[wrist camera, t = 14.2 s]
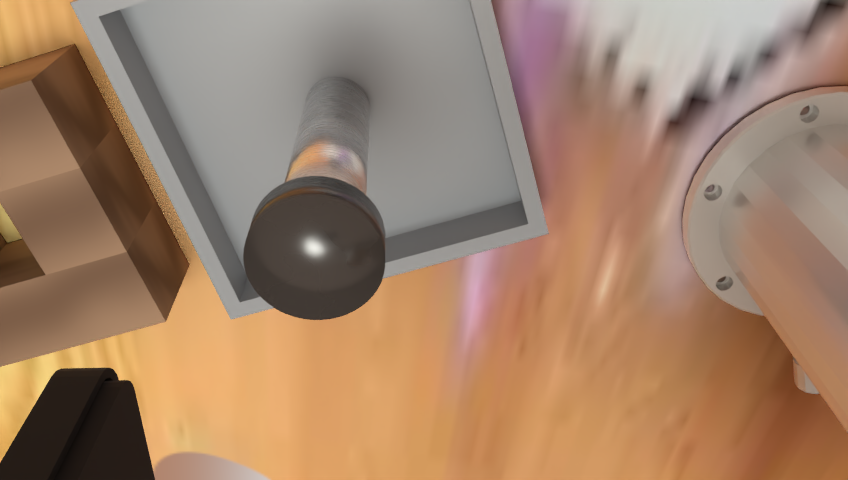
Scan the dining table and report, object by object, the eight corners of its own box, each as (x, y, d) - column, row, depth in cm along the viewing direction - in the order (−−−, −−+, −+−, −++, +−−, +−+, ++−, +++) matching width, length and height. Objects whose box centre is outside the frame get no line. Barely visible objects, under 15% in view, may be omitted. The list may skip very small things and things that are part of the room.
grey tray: (538, 204, 40) (548, 233, 38) (240, 286, 42) (230, 319, 40) (454, -131, 33) (460, -124, 30) (94, -14, 34) (70, 2, 32)
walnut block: (189, 265, 41) (165, 321, 37) (-21, 323, 43) (-67, 385, 38) (74, 44, 36) (31, 80, 31) (-164, 119, 37) (-238, 164, 33)
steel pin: (397, 138, 38) (402, 299, 26) (309, 163, 38) (274, 334, 26) (368, 49, 36) (359, 181, 24) (274, 77, 36) (220, 221, 24)
